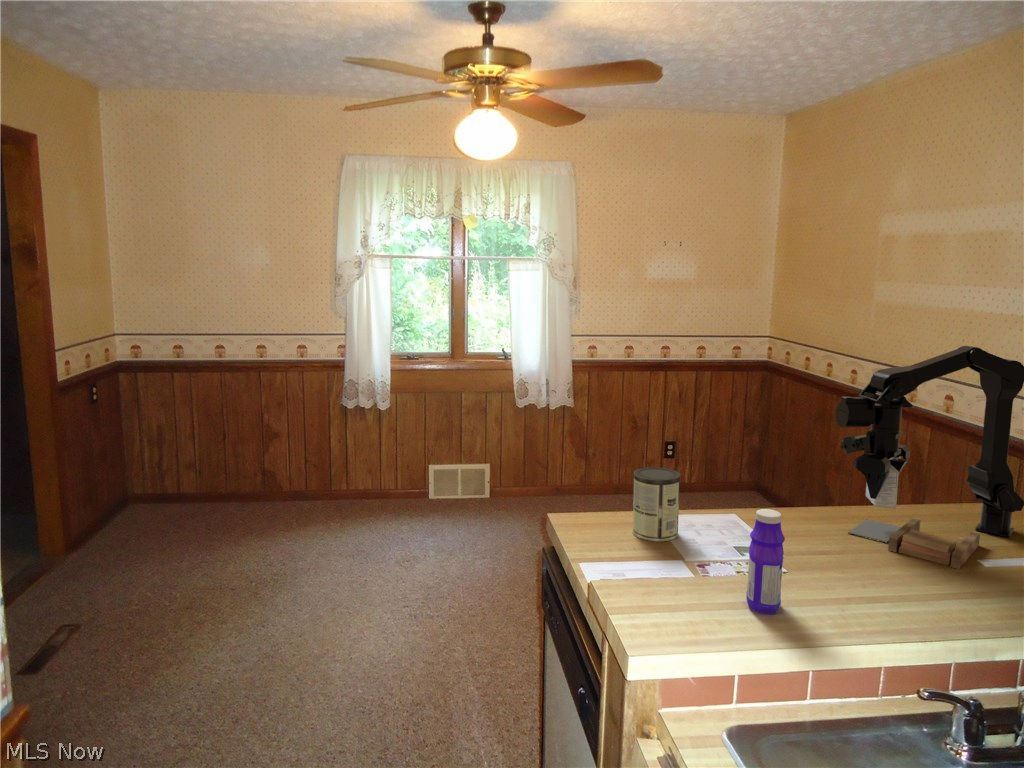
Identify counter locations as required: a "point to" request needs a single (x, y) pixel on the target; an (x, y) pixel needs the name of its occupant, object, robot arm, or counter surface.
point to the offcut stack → (927, 547)
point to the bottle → (765, 563)
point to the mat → (874, 530)
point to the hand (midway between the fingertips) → (880, 493)
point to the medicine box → (886, 491)
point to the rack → (957, 555)
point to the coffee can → (656, 504)
